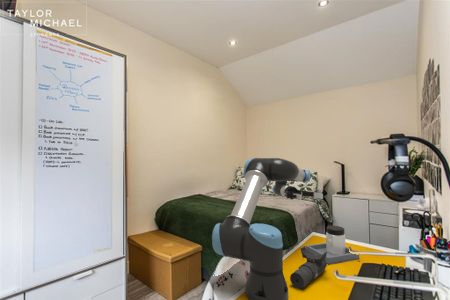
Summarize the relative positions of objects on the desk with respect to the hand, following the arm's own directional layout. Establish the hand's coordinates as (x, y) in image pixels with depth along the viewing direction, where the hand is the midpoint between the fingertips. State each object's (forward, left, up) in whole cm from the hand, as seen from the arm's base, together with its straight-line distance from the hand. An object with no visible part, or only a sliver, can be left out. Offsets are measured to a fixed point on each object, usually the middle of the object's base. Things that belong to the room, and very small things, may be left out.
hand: (311, 197), depth 125 cm
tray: (+3, -10, -27) cm, 29 cm away
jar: (+7, -9, -27) cm, 29 cm away
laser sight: (-21, -24, -28) cm, 42 cm away
